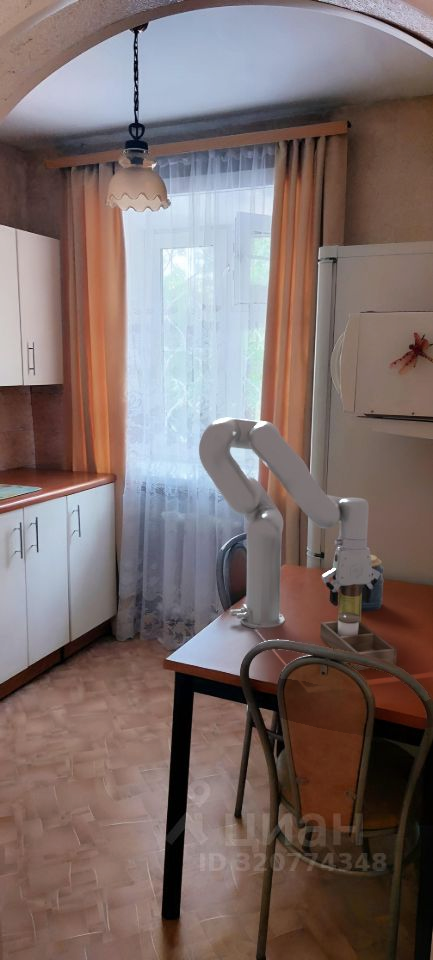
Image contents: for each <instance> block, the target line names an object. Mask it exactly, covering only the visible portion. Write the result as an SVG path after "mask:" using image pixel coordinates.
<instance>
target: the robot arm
mask: <svg viewBox="0 0 433 960" xmlns="http://www.w3.org/2000/svg"><path fill="white" fill-rule="evenodd" d="M231 448H235V449H244V450H251V451H253V453H254V454H255V455H256V456H257V457H258V458H259V460H260V461H261V462H262V463H263V464H264V465H265V467H267V469H268V470H269V471H270V472H271V473H272V474H273V475H274V476H275V478H276V479H277V481H279V483H280V484H281V486H282V487H283V488H284V489H285V490H286V492H287V494H289V496H290V497H291V498H292V499H293V500H294V502H295V503H296V504H297V505H298V507H299V508H300V509H301V510H302V512H303V513H304V514H305V515H306V516H307V517H308V519H310V521H311V522H313V524H315V526H317V527H319V528H320V529H325V530H326V529H332V528H334V527H335V526H336V525H337V524H339V528H338V529H339V532H338V539H335V540H334V545H335V546H337V547H336V549H335V552H334V557H333V562H332V569H331V570H328V571H327V572H325V573H323V574H322V575H321V579H322V582H323V584H324V586H326V587H327V588H328V589H329V601H330V604H332V605H333V606H334V607H338V603H339V591H338V590H339V587H340V586H349V585H353V584H359V585H363V584H364V586H363V587H362V600H363V601H365V602H366V603H369V602H370V598H371V589H372V588H373V586H374V585H375V583H376V582H377V579H378V578H379V576H380V572H378V571H377V570H375V569H373V568H372V566H371V555H372V554H371V550H370V548H369V547H367V545H368V531H369V530H368V527H369V511H370V510H369V507H370V506H369V502H368V501H367V499H364V498H361V497H342V496H335V495H331V494H326V493H325V491H323V490H322V488H321V487H320V486H319V484H318V483H317V481H316V480H315V479H314V477H313V476H312V474H311V473H310V470H309V468H308V465H307V464H306V463H305V461H304V460H303V459H302V458H301V457H300V456H299V454H298V453H297V452H296V451H295V449H293V448H292V446H291V445H290V444H289V443H288V442H287V441H286V439H284V437H283V436H282V435H281V433H280V429H279V428H278V427H277V426H276V425H275V424H273V423H272V422H270V421H263V420H253V419H252V420H251V419H243V418H236V417H235V418H233V417H223V418H219V419H216V420H214V421H212V422H211V423H210V424H209V425H208V426H207V427H206V429H204V432H203V433H202V436H201V437H200V441H199V445H198V455H199V459H200V462H201V465H202V467H203V469H204V471H206V473H207V476H209V478H210V479H211V481H212V482H213V484H214V485H215V487H216V488H217V490H218V491H219V493H220V494H221V496H222V497H223V499H224V500H225V502H226V504H227V505H228V508H230V509H231V511H232V512H234V513H235V514H237V515H240V516H241V515H242V516H243V517H244V518H245V520H246V521H247V523H248V525H247V529H246V594H245V595H246V601H245V604H244V603H243V604H242V607H240V608H239V609H237V608H236V609H230V610H229V613H228V614H229V616H230V617H231V618H232V617H236V619H240V623H241V624H242V625H244V626H245V627H248V628H250V629H255V630H257V628H259V629H261V628H263V629H266V628H275V627H279V626H282V625H283V624H285V619H286V618H285V616H283V614H281V613H280V610H281V609H280V607H281V605H280V603H281V576H282V575H281V574H282V572H281V571H282V569H281V568H282V561H281V560H282V534H283V530H284V519H283V516H282V514H281V512H280V510H279V508H278V507H277V506H276V505H275V502H274V501H273V500H272V498H271V497H270V496H269V494H268V493H267V491H266V490H265V488H264V487H263V486H262V484H261V483H260V482H259V481H258V480H256V479H255V478H254V477H250V476H247V475H246V473H245V472H244V471H243V470H242V468H241V466H240V465H239V463H238V462H237V461H236V460H235V459H234V457H233V456H232V453H231ZM370 554H371V555H370ZM372 573H373V577H372ZM330 578H332V581H330Z"/></svg>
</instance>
